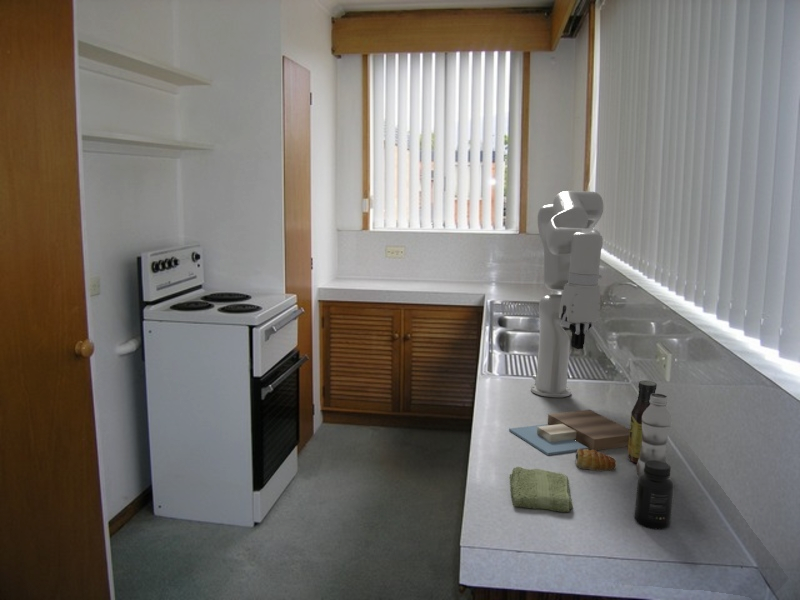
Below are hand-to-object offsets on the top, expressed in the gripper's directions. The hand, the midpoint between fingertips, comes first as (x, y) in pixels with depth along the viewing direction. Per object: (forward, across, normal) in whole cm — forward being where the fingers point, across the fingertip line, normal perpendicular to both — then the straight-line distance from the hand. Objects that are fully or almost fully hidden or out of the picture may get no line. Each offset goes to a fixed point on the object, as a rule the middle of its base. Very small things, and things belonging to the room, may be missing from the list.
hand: (577, 347), depth 188 cm
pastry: (+23, +9, +22) cm, 33 cm away
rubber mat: (+23, +10, +5) cm, 26 cm away
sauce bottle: (+23, -4, +24) cm, 33 cm away
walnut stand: (+23, -4, +5) cm, 24 cm away
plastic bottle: (+22, +2, +34) cm, 41 cm away
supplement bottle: (+21, +15, +50) cm, 57 cm away
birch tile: (+22, +8, +5) cm, 24 cm away
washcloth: (+22, +30, +32) cm, 49 cm away
